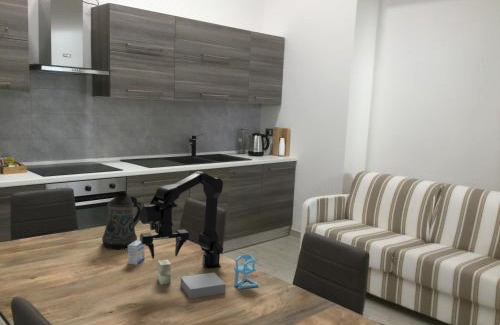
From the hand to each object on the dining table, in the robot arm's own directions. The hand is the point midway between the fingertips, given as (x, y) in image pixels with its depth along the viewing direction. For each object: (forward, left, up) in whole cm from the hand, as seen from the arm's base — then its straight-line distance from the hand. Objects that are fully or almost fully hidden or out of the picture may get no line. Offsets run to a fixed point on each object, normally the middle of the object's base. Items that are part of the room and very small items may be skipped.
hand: (164, 257), depth 175 cm
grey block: (-12, +12, -10) cm, 20 cm away
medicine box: (+6, -25, -10) cm, 28 cm away
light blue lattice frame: (-29, +14, -10) cm, 34 cm away
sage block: (0, 0, -10) cm, 10 cm away
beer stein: (+8, -51, -10) cm, 53 cm away
